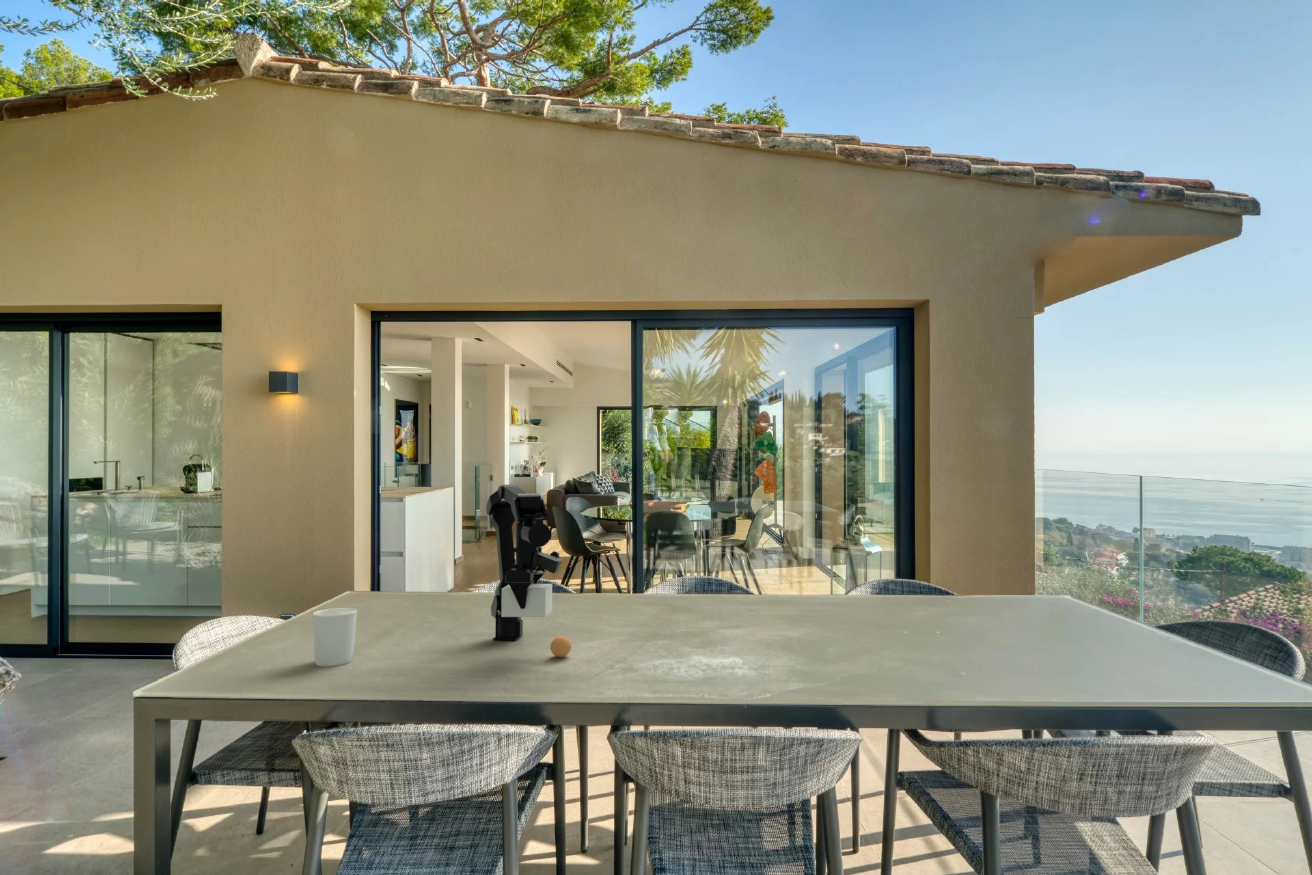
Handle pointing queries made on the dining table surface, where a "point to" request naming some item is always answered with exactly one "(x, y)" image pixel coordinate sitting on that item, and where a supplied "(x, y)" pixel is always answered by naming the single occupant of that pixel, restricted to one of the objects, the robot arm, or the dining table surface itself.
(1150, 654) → the dining table surface
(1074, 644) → the dining table surface
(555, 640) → the ball
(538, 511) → the robot arm
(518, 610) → the pale white box
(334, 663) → the candle holder
